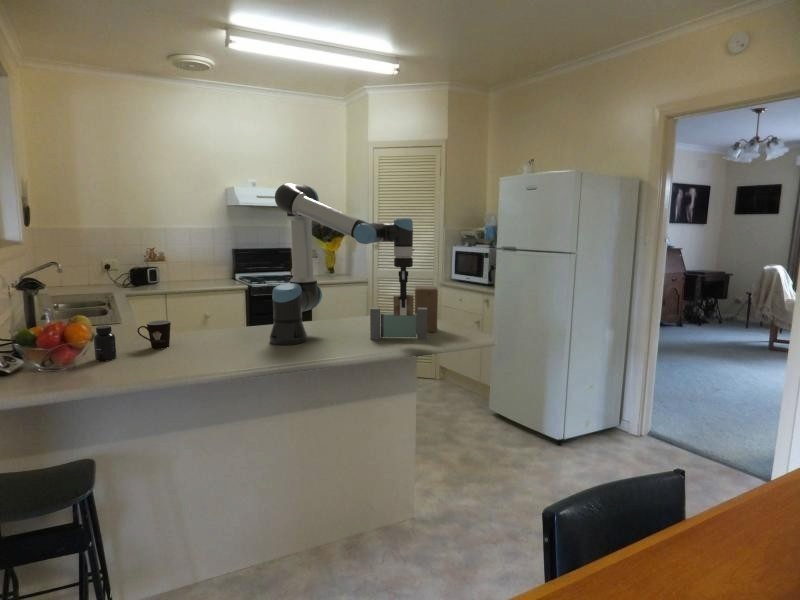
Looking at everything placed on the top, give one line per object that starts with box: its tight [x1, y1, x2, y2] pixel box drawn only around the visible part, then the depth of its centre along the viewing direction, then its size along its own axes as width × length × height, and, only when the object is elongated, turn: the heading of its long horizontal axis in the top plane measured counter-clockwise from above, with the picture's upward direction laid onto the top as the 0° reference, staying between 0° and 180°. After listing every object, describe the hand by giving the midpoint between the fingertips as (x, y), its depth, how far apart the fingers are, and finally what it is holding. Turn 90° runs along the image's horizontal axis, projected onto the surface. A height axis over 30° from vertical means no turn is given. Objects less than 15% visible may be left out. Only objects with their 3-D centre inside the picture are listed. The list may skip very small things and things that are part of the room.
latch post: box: [416, 308, 428, 340], centre depth 218 cm, size 4×4×13 cm
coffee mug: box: [137, 319, 172, 350], centre depth 203 cm, size 12×9×10 cm
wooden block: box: [414, 285, 439, 334], centre depth 232 cm, size 10×10×20 cm
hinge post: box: [369, 306, 381, 340], centre depth 218 cm, size 4×4×13 cm
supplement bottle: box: [93, 325, 117, 362], centre depth 186 cm, size 7×7×12 cm
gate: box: [380, 313, 417, 338], centre depth 218 cm, size 15×1×10 cm, turn 89°
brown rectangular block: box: [393, 293, 414, 316], centre depth 209 cm, size 8×5×8 cm, turn 89°
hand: (403, 313), depth 209 cm, fingers closed on brown rectangular block, 5 cm apart
